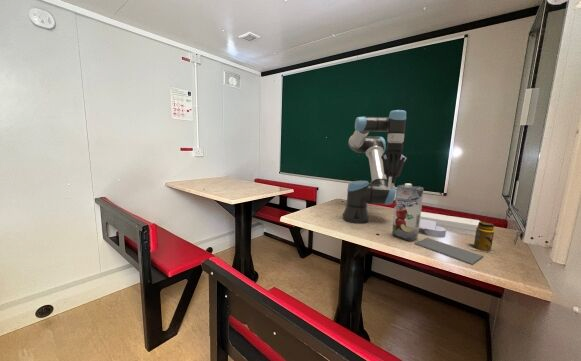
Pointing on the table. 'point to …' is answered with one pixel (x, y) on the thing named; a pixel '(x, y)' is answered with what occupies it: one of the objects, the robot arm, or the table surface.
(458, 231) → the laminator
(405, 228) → the juice carton
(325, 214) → the table surface
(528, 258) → the table surface
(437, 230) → the wedge on round base
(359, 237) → the table surface
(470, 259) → the mat
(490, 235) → the condiment
